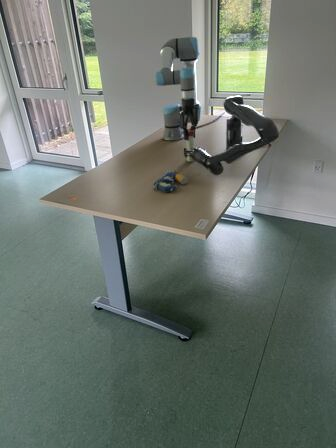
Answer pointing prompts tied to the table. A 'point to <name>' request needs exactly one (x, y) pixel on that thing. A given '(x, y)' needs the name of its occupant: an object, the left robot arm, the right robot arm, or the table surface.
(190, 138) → the bottle
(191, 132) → the lid
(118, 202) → the table surface
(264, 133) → the right robot arm
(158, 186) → the spray gun
